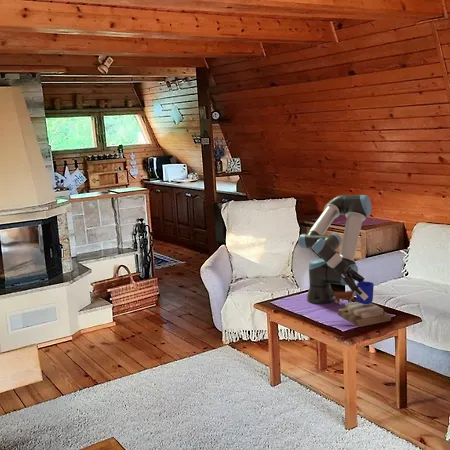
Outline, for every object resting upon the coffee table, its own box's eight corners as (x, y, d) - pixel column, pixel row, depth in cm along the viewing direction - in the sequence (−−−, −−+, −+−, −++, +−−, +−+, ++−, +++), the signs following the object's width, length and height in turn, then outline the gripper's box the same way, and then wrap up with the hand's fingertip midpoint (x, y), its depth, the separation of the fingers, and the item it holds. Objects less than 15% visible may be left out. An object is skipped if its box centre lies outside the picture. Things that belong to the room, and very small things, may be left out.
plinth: (338, 315, 294) (337, 303, 293) (367, 309, 300) (367, 298, 299) (359, 326, 275) (359, 315, 274) (390, 320, 281) (390, 308, 280)
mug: (350, 305, 285) (349, 286, 283) (363, 299, 293) (362, 280, 291) (364, 308, 279) (363, 289, 277) (377, 301, 287) (376, 283, 285)
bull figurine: (358, 305, 306) (358, 291, 305) (333, 305, 309) (333, 291, 308) (358, 302, 311) (358, 288, 309) (333, 302, 314) (333, 288, 312)
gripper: (338, 262, 300) (368, 292, 296) (326, 274, 279) (358, 307, 275) (347, 253, 297) (378, 283, 293) (336, 264, 276) (369, 297, 272)
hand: (368, 294), depth 284 cm, fingers closed on mug, 11 cm apart
